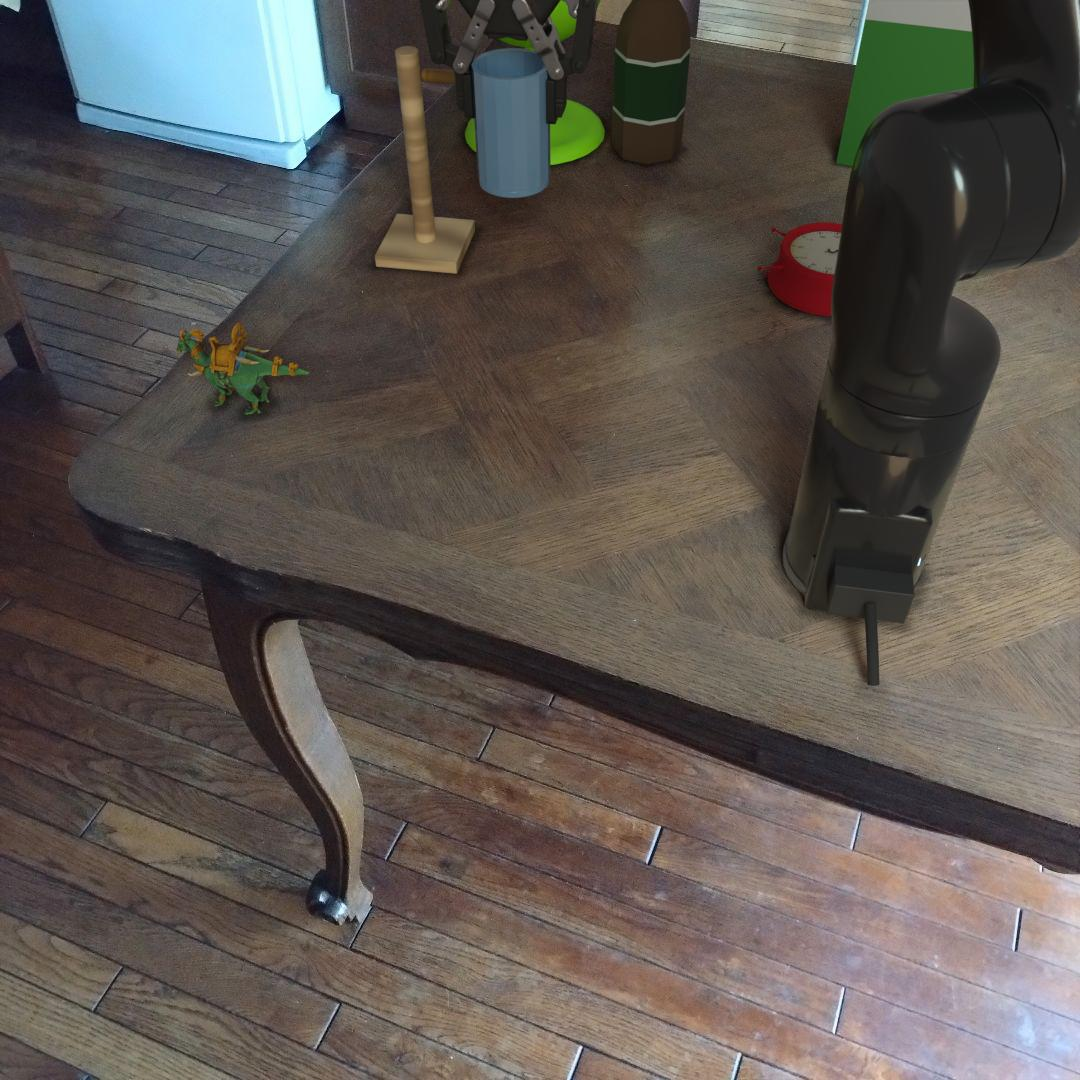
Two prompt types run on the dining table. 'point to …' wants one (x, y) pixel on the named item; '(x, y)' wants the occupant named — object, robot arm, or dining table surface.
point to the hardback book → (906, 60)
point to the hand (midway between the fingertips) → (512, 116)
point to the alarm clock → (806, 267)
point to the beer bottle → (650, 80)
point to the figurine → (234, 366)
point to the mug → (511, 122)
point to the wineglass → (578, 122)
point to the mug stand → (421, 186)
